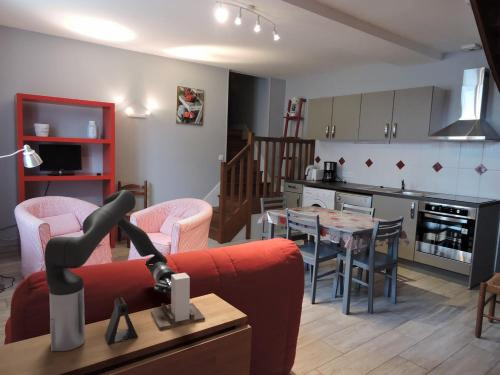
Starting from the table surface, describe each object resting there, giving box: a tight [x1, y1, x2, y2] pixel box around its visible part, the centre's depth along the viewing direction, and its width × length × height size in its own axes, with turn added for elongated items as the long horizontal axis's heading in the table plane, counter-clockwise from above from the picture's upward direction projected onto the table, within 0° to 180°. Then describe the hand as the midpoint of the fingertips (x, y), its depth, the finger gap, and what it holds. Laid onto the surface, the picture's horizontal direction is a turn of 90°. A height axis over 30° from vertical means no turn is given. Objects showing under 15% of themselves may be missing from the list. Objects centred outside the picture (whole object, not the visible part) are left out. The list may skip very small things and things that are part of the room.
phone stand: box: [104, 296, 138, 346], centre depth 113 cm, size 9×6×12 cm, turn 120°
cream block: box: [170, 272, 191, 322], centre depth 124 cm, size 5×5×15 cm
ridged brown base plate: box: [150, 302, 206, 331], centre depth 127 cm, size 16×13×3 cm
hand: (178, 293), depth 126 cm, fingers closed
